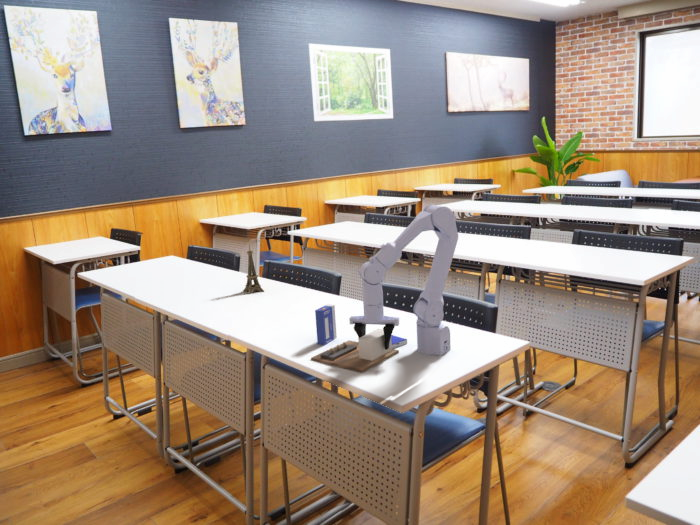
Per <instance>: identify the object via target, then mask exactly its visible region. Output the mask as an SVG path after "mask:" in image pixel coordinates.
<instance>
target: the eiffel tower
mask: <svg viewBox="0 0 700 525" xmlns="http://www.w3.org/2000/svg"><path fill="white" fill-rule="evenodd" d="M250 247H251V246H250V244H248V249H249V250H247V251H246V254H248V255H247V256H248V257H247V258H248V260H247V261H248V263H247V267H248V268H247V275H246V278H247V280H246V284H245V285H244V286H245V287H244V288H243V292H248V295H252V293H253V292H255V291H257V292H259V293H265V290H264V289H263V288H262V287H261V286H262V285H260V282H259V279H258V277H259V276H258V274H257V273H256V272H257V271H256V269H255V268H256V267H255V263H254V258H253V254H254V252H253V250H251V248H250Z"/></svg>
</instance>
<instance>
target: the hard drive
mask: <svg viewBox="0 0 700 525" xmlns="http://www.w3.org/2000/svg"><path fill="white" fill-rule="evenodd" d="M391 340H392V349H395V348H398V347H401V346H404V345H407V344H408V339H407V338H405V337H399V336H396V335H394V334H391Z"/></svg>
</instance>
